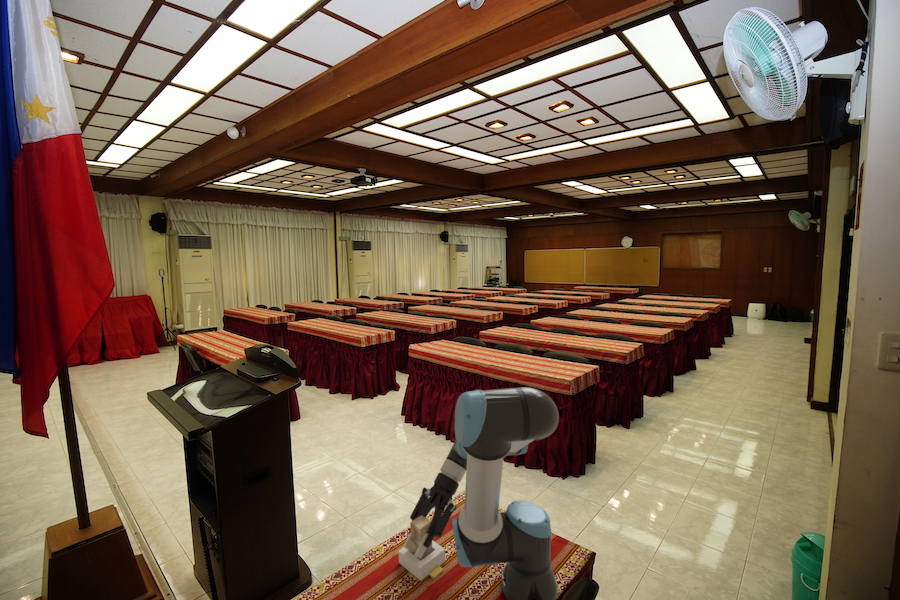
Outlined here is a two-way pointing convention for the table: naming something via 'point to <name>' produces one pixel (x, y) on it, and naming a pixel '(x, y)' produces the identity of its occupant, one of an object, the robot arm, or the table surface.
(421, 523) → the beech peg
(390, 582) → the table surface
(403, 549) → the socket block
